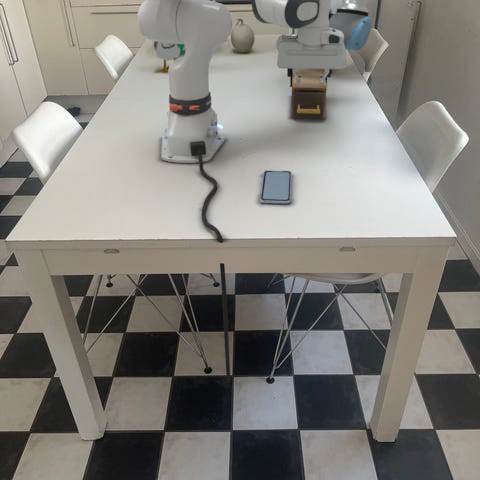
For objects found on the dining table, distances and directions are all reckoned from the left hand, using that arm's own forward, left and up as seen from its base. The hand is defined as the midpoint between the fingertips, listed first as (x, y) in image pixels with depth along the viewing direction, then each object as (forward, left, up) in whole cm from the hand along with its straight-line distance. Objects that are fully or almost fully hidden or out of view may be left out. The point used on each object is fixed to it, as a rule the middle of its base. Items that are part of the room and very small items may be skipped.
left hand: (310, 82), depth 155 cm
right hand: (+21, 0, -8) cm, 22 cm away
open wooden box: (+15, 0, -13) cm, 20 cm away
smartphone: (-41, +8, -13) cm, 44 cm away
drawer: (+10, 0, -12) cm, 16 cm away
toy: (+54, +55, -13) cm, 78 cm away
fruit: (+83, +28, -13) cm, 89 cm away
